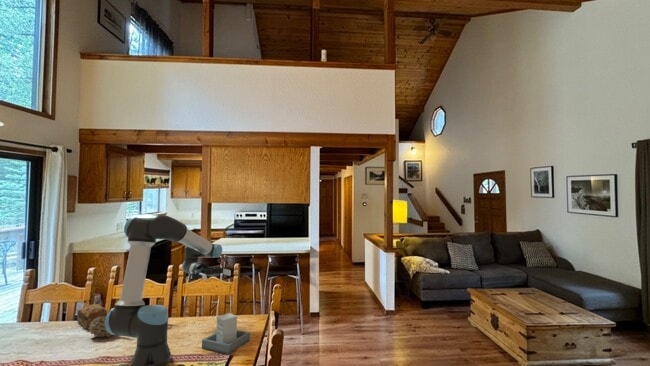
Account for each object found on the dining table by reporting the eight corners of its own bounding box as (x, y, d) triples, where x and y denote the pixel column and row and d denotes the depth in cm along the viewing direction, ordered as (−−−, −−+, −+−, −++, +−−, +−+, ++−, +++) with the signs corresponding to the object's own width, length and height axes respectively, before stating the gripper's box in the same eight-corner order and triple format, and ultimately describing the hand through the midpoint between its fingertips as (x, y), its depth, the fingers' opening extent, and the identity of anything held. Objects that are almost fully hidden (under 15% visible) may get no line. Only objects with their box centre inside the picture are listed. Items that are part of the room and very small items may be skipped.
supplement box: (229, 337, 158) (230, 312, 159) (236, 342, 153) (237, 316, 154) (215, 342, 153) (216, 316, 154) (222, 347, 148) (223, 320, 149)
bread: (107, 325, 178) (108, 307, 178) (84, 330, 170) (85, 312, 170) (97, 317, 190) (98, 300, 190) (75, 322, 182) (76, 304, 182)
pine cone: (82, 340, 157) (83, 320, 158) (96, 332, 167) (97, 313, 168) (124, 340, 157) (125, 320, 158) (136, 333, 166) (137, 314, 167)
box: (201, 348, 149) (202, 339, 149) (224, 335, 163) (224, 327, 164) (228, 354, 143) (228, 345, 143) (249, 340, 157) (249, 332, 158)
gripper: (219, 272, 185) (239, 278, 171) (176, 280, 167) (194, 287, 152) (219, 259, 186) (239, 264, 171) (176, 265, 167) (194, 271, 153)
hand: (218, 275), depth 162 cm, fingers open, 13 cm apart
